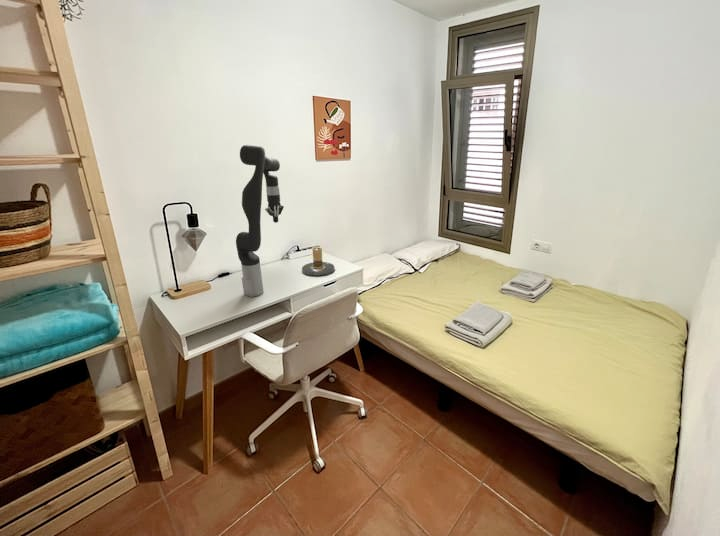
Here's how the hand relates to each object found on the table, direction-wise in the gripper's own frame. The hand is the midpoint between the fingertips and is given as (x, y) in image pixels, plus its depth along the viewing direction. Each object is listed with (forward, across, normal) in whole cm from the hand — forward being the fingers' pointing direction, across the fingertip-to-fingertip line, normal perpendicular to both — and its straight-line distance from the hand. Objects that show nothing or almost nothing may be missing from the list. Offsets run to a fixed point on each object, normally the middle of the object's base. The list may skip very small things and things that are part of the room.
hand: (276, 222), depth 205 cm
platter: (+29, +9, -25) cm, 39 cm away
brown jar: (+27, +9, -25) cm, 38 cm away
